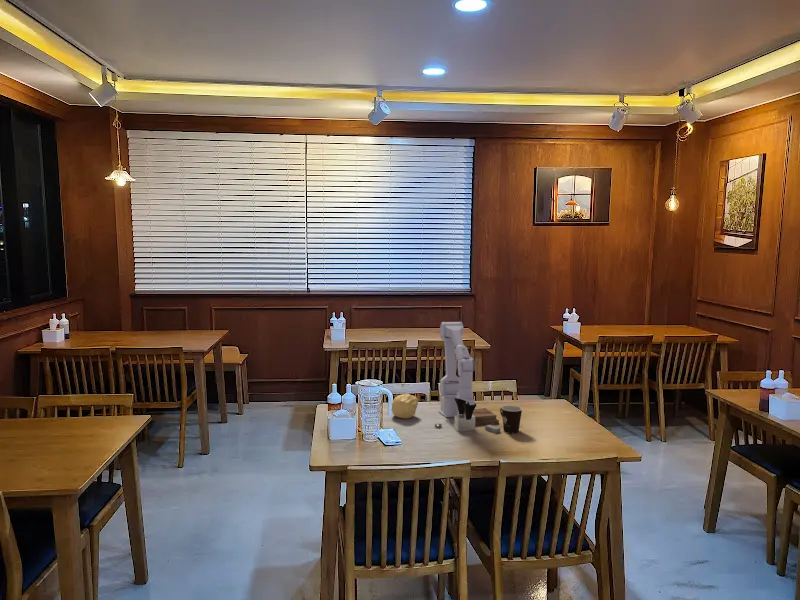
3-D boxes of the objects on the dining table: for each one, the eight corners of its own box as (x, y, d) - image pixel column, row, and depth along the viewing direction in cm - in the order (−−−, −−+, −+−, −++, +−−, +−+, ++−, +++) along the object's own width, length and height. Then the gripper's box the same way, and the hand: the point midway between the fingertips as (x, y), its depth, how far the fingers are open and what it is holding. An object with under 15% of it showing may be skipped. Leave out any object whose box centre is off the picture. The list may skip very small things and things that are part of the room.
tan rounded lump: (409, 422, 252) (409, 398, 251) (386, 417, 258) (387, 395, 257) (421, 415, 262) (421, 393, 261) (399, 411, 268) (399, 389, 267)
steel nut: (433, 426, 247) (433, 424, 247) (440, 426, 248) (440, 423, 248) (436, 428, 244) (436, 426, 244) (442, 428, 245) (442, 425, 245)
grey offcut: (485, 430, 243) (485, 425, 243) (489, 428, 245) (489, 424, 245) (495, 434, 239) (495, 429, 238) (500, 432, 241) (500, 428, 240)
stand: (461, 416, 261) (461, 409, 261) (485, 414, 265) (485, 407, 265) (474, 425, 248) (474, 418, 248) (498, 423, 252) (499, 415, 251)
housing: (454, 428, 244) (454, 415, 244) (471, 427, 247) (471, 414, 246) (457, 431, 240) (458, 418, 240) (474, 430, 243) (475, 416, 242)
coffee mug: (523, 434, 238) (524, 411, 237) (503, 434, 238) (503, 411, 236) (517, 425, 249) (518, 403, 248) (498, 425, 249) (498, 403, 248)
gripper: (450, 382, 247) (450, 412, 249) (463, 391, 233) (463, 422, 235) (465, 381, 249) (464, 411, 251) (479, 389, 235) (478, 421, 237)
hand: (464, 416), depth 243 cm, fingers open, 7 cm apart
